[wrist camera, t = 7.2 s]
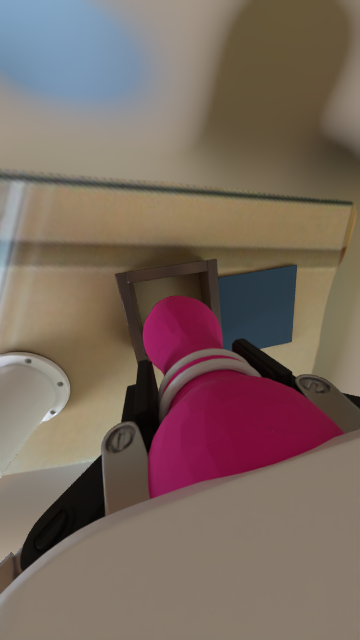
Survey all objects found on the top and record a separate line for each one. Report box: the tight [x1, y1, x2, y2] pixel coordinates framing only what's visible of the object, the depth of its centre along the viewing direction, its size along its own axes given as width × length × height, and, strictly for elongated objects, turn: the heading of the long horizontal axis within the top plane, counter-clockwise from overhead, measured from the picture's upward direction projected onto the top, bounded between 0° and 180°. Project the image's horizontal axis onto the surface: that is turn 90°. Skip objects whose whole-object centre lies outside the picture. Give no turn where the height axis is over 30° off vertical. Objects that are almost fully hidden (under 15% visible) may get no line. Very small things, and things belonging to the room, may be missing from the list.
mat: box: [218, 265, 297, 352], centre depth 29 cm, size 14×14×1 cm
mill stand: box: [115, 259, 222, 363], centre depth 25 cm, size 13×13×4 cm
